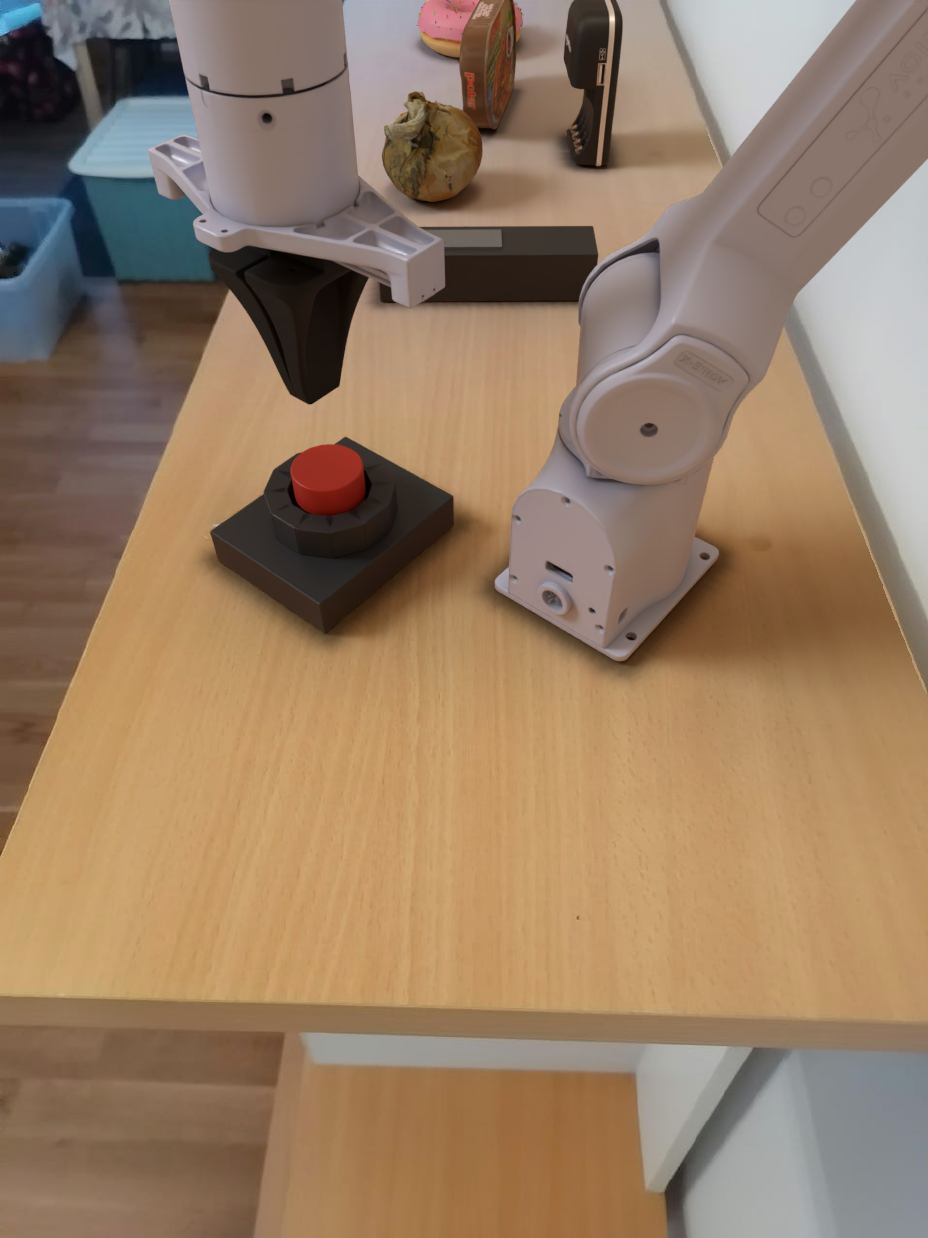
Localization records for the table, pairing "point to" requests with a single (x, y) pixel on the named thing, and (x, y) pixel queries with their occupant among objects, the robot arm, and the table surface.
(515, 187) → the table surface
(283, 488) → the button block
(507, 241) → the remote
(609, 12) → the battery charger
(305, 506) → the button
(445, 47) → the doughnut
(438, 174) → the onion
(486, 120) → the tin
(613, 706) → the table surface
